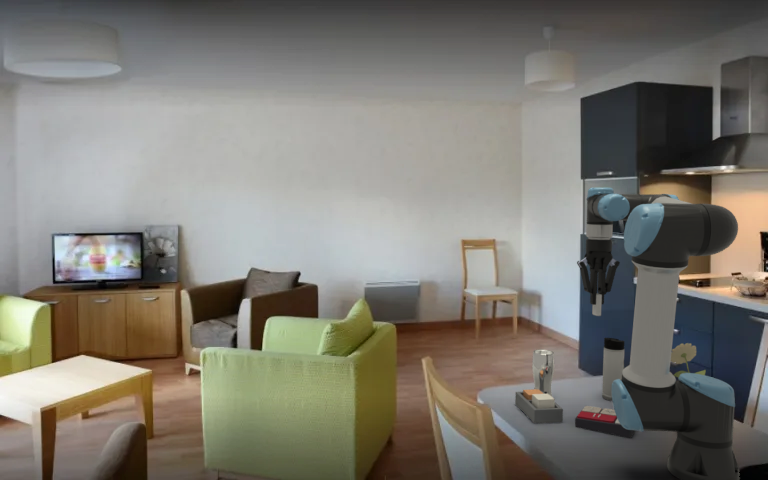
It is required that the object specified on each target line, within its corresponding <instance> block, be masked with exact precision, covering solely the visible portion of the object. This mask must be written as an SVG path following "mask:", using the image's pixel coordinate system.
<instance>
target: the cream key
mask: <svg viewBox="0 0 768 480" xmlns="http://www.w3.org/2000/svg"><path fill="white" fill-rule="evenodd" d="M555 403H556V402H555V397H553V395H552V396H550V395H549V394H532V405H533V406H534V407H535V408H536V409H543V408H555Z"/></svg>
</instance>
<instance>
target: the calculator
mask: <svg viewBox="0 0 768 480" xmlns="http://www.w3.org/2000/svg"><path fill="white" fill-rule="evenodd" d="M602 408H603V409H602ZM574 419H575V420H574V423H575V424H574V425H575V428H578V429H584V430H588V431H593V432H598V433H603V434H610V435H614V436H616V437H620V438H621V437H622V438H625V439H632V437H633V435H634V434H635V431H636V430H628V429H625V428H624V427H623V426H622V425H621V424H620V423H619V421H618V419H617V416H616V413H615V410H614V408H613V409H612V408H605V407H598V406H592V405H591V406H590V405H584V407H583V408H582V409H581V411H580V412H579V413H578V414H577V415H576V417H574Z"/></svg>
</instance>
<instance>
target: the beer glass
mask: <svg viewBox="0 0 768 480" xmlns="http://www.w3.org/2000/svg"><path fill="white" fill-rule="evenodd" d="M554 352H555V351H552V350H549V349H534V350H533V352H532V361H531V362H532V364H531V365H532V367H531V368H532V369H531V370H532V376H533V381H534V385H533V387H534V389H539V390H540V391H543V392H544V393H545V394H549V395H550V396H552V397H553V393H552V383H553V382H552V381H553V377H554V371H555V353H554Z"/></svg>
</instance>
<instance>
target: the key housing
mask: <svg viewBox="0 0 768 480" xmlns="http://www.w3.org/2000/svg"><path fill="white" fill-rule="evenodd" d="M541 392H542V393H543V394H545V393H544V392H543V391H541ZM514 396H515V397H514V398H515V400H514V401H515V406H517V408H519V410H520V409H521V410H522V411H523V412H524V413H525V414H526V415H527V416H528V417H529V418H530V419H531V420H530V419H529V418H528V417H527V418H528V419H529V420H530V422H532V423H533V424H534V423H536V424H554V423H553V422H559V423H563V421H564V418H563V416H564V408H563V407H561V406H560V405H559V404H558V403H557V402H555V408H543V409H536V408H535V407H534V406H533V405H532V400H527V399H526V398H525V397H524V396H523V391H515V395H514ZM523 412H522V413H523ZM524 413H523V414H524ZM525 414H524V415H525ZM526 415H525V416H526Z"/></svg>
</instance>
